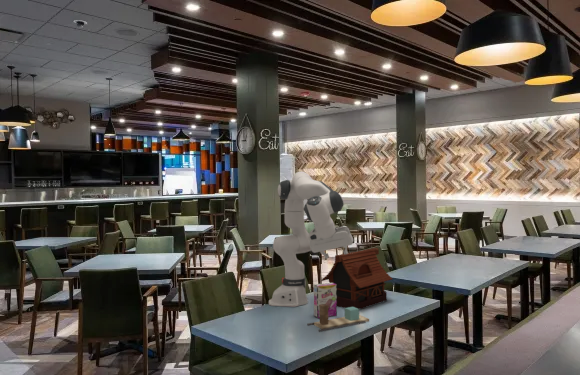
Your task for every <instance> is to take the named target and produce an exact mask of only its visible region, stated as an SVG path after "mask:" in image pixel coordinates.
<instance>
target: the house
mask: <svg viewBox="0 0 580 375" xmlns="http://www.w3.org/2000/svg"><path fill="white" fill-rule="evenodd" d="M379 250H380V249H379V248H377V247H374V248H373V247H372V248H367V249H363V250H358V251H352V252H348V254H345V255H344V253H341V254H335V256H334V263H333V265H332V267H331V269H330V271H329V272H327V274H326V275H325V276H324V277H323V278H321V279H320V281H321V282H323V281H326V280H328V283H334V284H337V308H342V309H345V308H348V307H355V308H358V309H359V310H362V309H365V308H368V307H371V306H374V305H378V304H380V302H381V303H383V301H384V302H386V301H387V295H388V294H387V291H386V290H385V285H386V284H387V283H386V282H388V281H392V280H393V278H392V277H391V275H389V273H387V271H386V270H385V269H384V267H383V266H382V264H381V263H380V261H379V258H378V256H377V255H379V253H380V252H379Z"/></svg>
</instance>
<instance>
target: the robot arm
mask: <svg viewBox="0 0 580 375" xmlns="http://www.w3.org/2000/svg"><path fill="white" fill-rule="evenodd" d="M277 194H278V197H279V198H280V199H281V200H285V201H284V224H285V226H286V227H287V228H289V229H291V231H292V234H288V235H287V234H285V235H280V236H277V237H276V238H274V240H273V242H272V248H273V250H274V253H276V254H277V255H278V256H280V258H281V260H282V261H283V264H284V274H285V275H284V276H285V277H284V276H283V277H282V278H281V285H280V286H279V287H277V288H276V289H275V290H274V291H273V292H272V298H270V299H269V300H268V305H269V306H271V307H292V308H294V307H299V306H304V305H306V304H308V303H309V301H308V298H307V293H306V291H307V290H306V285H307V284H306V282H307V281H306V277H305V264H304V263H303V261H301V260H299V259H298V258H297V255H298V254H305V253H308V252H312V253H313V254H316V253H320V254H321V255H322V256H324V259H325V260H326V259H329V257H330V255H329V253H326V252H325V251H329V250H333V249H334V250H335V249H337V248H344V249H343V251H342V252H343V253H342V254H344V255H345V254H348V253H349V252H348V246H352V245H353V244H354V238H353V235H352V234H351V229H350V228H349V226H345V225H342V226H338V227H336V225H335V222H334V221H333V220H334V219H332V217H331V215H333V214H335V213H338V212H341V211H342V209H343V207H344V205H345V204H344V200H343V197H342V195H341V194H340V193H339V192H338V191H336V190H334V189H332V188H331V187H330V186H329V185H328V184H327V183H325V182H323V181H322V180H315V179H313V178H312V177H311V175H310V174H308V173H307V172H305V171H297V172H295V173H294V174H293V176H292V179H286V180H281V181H280V182H279V183H278V186H277ZM304 200H306V203H305V204H304ZM305 215H306V218H307V220H308V221H309V222H312V223H313V224H314V228H313V229H311V230H310V232H308V230H307V228H306V224H305Z"/></svg>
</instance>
